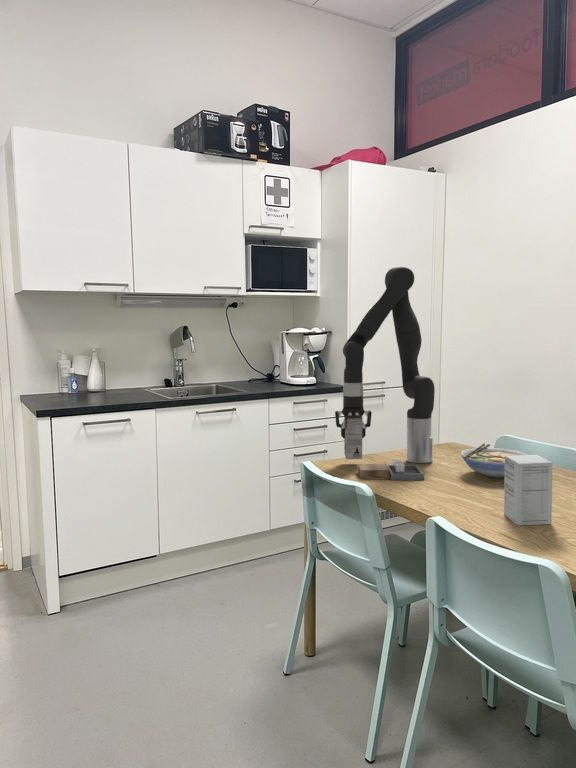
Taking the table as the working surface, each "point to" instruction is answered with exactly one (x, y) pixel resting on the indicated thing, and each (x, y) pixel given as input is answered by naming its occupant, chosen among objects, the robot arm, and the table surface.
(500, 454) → the ramen bowl
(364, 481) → the table surface
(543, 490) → the supplement box
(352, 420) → the coffee box
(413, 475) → the charcoal tray
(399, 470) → the chip
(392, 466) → the chip
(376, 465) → the brown flat block
